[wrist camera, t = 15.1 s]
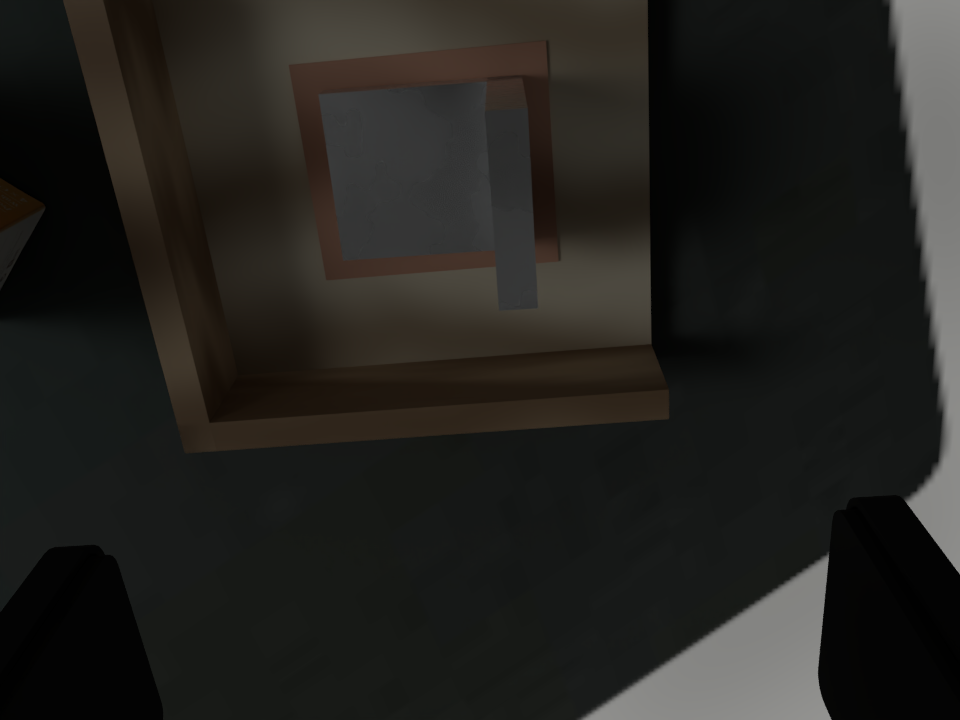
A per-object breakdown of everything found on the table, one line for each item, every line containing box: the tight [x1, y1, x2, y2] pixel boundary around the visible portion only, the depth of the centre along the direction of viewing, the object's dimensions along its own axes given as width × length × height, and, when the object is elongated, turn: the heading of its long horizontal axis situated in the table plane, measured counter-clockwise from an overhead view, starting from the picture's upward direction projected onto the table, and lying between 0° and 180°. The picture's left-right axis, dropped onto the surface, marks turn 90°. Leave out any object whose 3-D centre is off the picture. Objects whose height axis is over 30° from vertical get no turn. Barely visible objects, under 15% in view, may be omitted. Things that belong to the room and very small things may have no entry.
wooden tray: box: [63, 0, 669, 453], centre depth 32 cm, size 16×18×5 cm
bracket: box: [318, 75, 538, 311], centre depth 29 cm, size 7×6×7 cm
